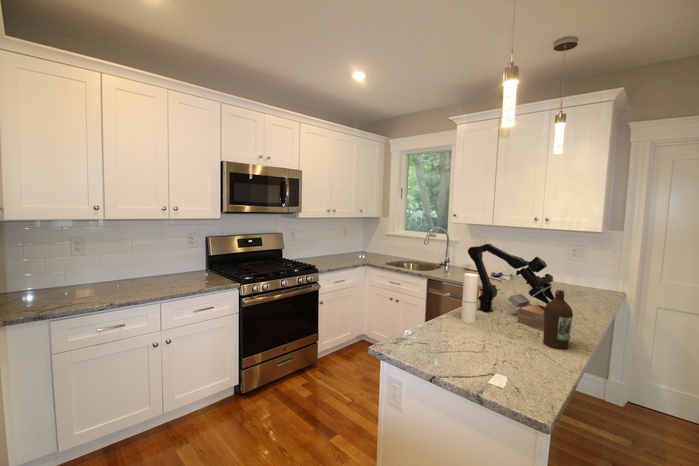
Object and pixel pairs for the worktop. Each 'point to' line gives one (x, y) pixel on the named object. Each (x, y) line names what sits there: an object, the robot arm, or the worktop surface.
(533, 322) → the frame
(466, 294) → the cylindrical container
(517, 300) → the trapdoor
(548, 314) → the olive oil
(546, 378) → the worktop surface
